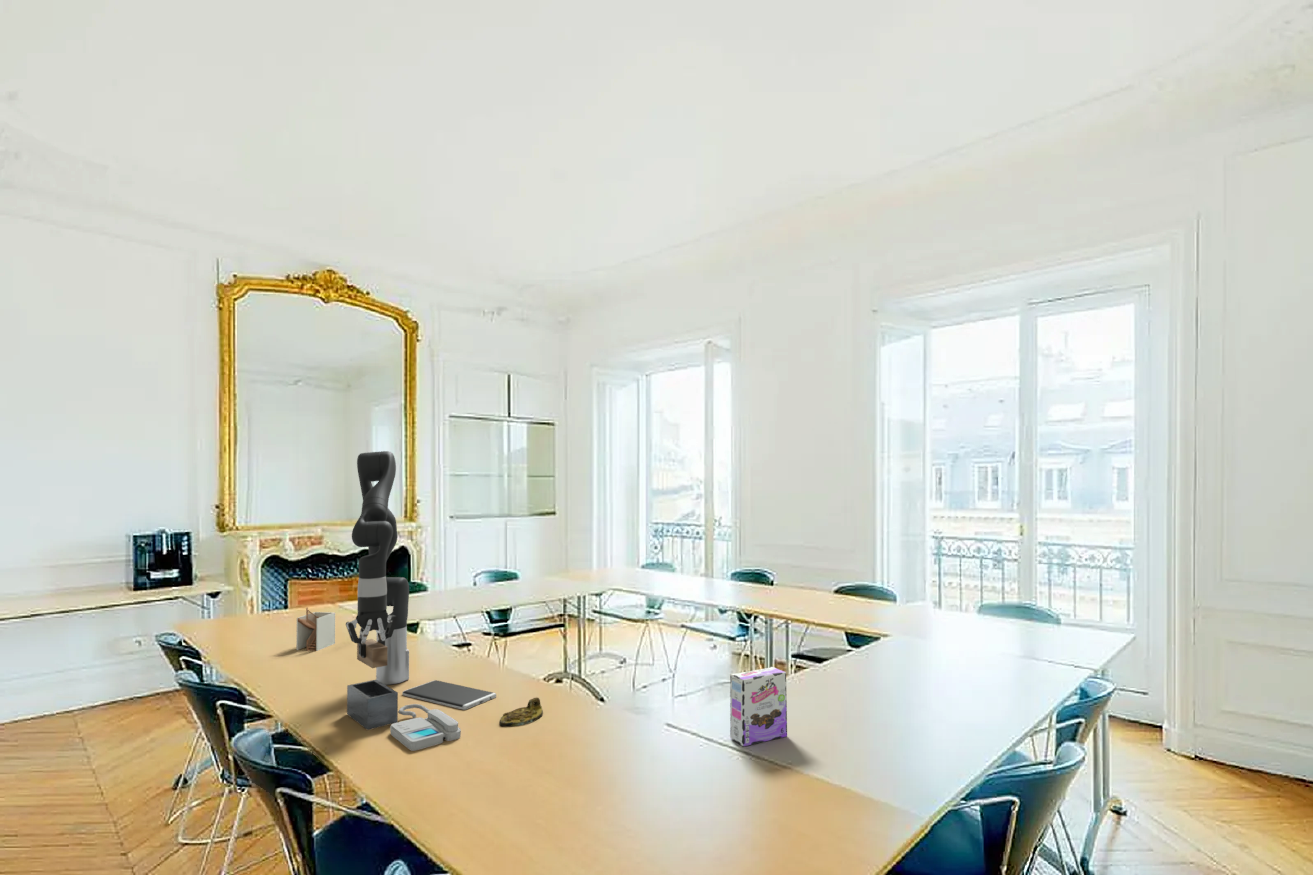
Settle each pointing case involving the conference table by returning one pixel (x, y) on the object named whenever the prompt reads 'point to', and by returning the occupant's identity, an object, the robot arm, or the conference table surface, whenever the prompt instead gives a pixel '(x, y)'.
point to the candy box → (758, 706)
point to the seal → (523, 714)
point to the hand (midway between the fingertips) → (371, 655)
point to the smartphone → (449, 694)
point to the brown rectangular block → (374, 654)
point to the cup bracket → (372, 704)
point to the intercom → (424, 728)
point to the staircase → (315, 630)
